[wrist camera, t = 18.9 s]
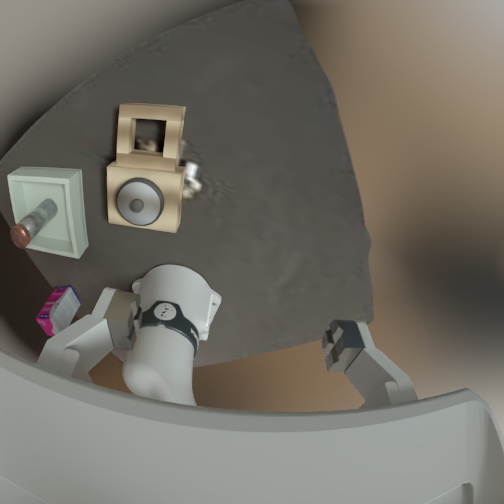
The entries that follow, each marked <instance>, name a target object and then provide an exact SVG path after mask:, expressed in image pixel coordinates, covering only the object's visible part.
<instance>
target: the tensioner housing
mask: <svg viewBox="0 0 504 504" xmlns="http://www.w3.org/2000/svg"><path fill="white" fill-rule="evenodd" d="M185 110H186V107H184V106H173V105H161V104H144V103H124V104H120V108H119V120H118V135H117V158H116V160H115V161H114V162H112V163H111V164H110V165H108V166H107V197H108V217H109V223H113V224H119V225H126V226H133V227H139V228H146V229H153V230H159V231H166V232H173V233H176V231H177V229H178V226H179V224H180V217H181V206H182V195H183V185H184V176H185V168H186V167H179V166H178V163H179V154H180V146H181V138H182V131H183V123H184V117H185ZM136 118H141V119H155V120H167V123H166V132H165V141H164V150H163V152H154V151H144V150H134V142H135V129H136Z"/></svg>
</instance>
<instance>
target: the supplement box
mask: <svg viewBox="0 0 504 504" xmlns="http://www.w3.org/2000/svg"><path fill="white" fill-rule="evenodd" d="M80 305H81V301H80V299H79V298H78V296H77V294H76V293H75V291H74V289H73V287H72V286H66V287H56V288H55V289H54V291H53V292H52V294H51V295H50V297H49V298H48V300H47V301H46V303H45V304H44V306H43V308H42V309H41V311H40V312H39V314H38V316H37V317H36V320H37V321H38V323H39V324H40V326H41V327H42V328H43V330H44V331H45V333H46V334H47V335H48V336H55V335H56V334H58V333H59V332H61V331H62V330H64V329H66V328H67V327H69V325H70V323H71V321H72V319H73V317H74V315H75V314H76V312H77V310H78V308H79V306H80Z"/></svg>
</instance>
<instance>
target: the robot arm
mask: <svg viewBox="0 0 504 504" xmlns="http://www.w3.org/2000/svg"><path fill="white" fill-rule="evenodd" d="M132 289H133V292H134V293H131V292H127V291H122V290H118V289H113V288H109V287H106V288H105V289H104V290H103V292H102V294H101V296H100V298H99V300H98V302H97V304H96V306H95V308H94V310H93V312H92V314H91V315H89V314H88V315H86V316H84V317H83V318H81V319H80V320H78V321H76V322H75V323H74V324H72V325H70V326H69V327H67V328H66V329H64V330H62V331H61V332H59V333H58V334H56V335H55V336H53V337H52V338H50V339H49V340H47V342H46V344H45V346H44V348H43V350H42V353H41V355H40V357H39V359H38V361H37V363H36V364H35V363H33V362H30V361H28V360H26V359H23V358H21V357H19V356H17V355H15V354H12V353H10V352H8V351H6V350H4V349H2V348H0V504H504V436H503V433H502V431H501V428H500V426H499V423H498V421H497V419H496V417H495V414H494V412H493V411H492V409H491V407H490V406H489V404H488V403H487V402H486V401H485V400H483V399H482V398H481V397H480V396H479V395H478V394H476V393H475V392H473V391H472V390H471V389H469V388H464V389H461V390H457V391H454V392H450V393H446V394H442V395H438V396H433V397H429V398H424V399H419V400H418V398H417V395H416V393H415V390H414V387H413V384H412V382H411V379H410V378H409V377H408V376H407V375H406V374H405V373H404V372H403V371H401V370H400V369H399V368H398V367H397V366H396V365H395V364H394V363H393V362H392V361H391V360H390V359H389V358H388V357H387V356H385V355H384V354H383V353H382V352H381V351H380V350H379V349H375V346H374V343H373V341H372V338H371V335H370V333H369V330H368V328H367V325H366V323H365V322H364V321H352V320H335V319H334V320H333V321H332V322H331V324H330V328H331V329H329V330H328V331H326V332H325V334H324V336H323V340H322V349H323V352H324V353H325V354H326V355H327V357H326V359H325V362H326V367H327V371H328V372H344V374H345V375H346V376H347V377H348V379H349V380H350V381H351V383H352V384H353V385H354V386H355V388H356V389H357V390H358V391H359V393H360V394H361V395H362V396H363V397H364V399H365V400H366V402H365V403H364V404H363V405H361V407H359V409H350V410H337V411H321V412H320V411H319V412H259V411H242V410H229V409H218V408H208V407H201V406H197V405H196V403H195V400H194V397H193V393H192V366H193V358H194V357H195V355H196V352H197V349H198V344H199V342H198V341H199V340H205V341H206V340H207V338H208V333H209V326H210V324H211V322H212V319H213V317H214V315H215V313H216V311H217V309H218V307H219V305H220V303H221V296H220V295H219V294H218V293H216V292H215V291H213V290H212V289H211V288H210V287H209V285H208V284H207V282H206V281H205V280H204V279H203V278H202V277H201V276H200V275H199V274H198V273H196V272H195V271H193V270H191V269H189V268H186V267H183V266H179V265H161V266H158V267H155V268H153V269H152V270H150V271H149V272H148V273H147V274H146V275H145V276H144V277H143V278H141V279H138V280H136V281H134V282H133V285H132ZM114 347H116V348H121V349H126V350H128V352H127V356H126V359H125V362H124V366H123V378H124V381H125V383H126V385H127V386H128V388H129V389H130V390H131V392H132V393H134V395H133V394H129V393H124V392H120V391H116V390H113V389H109V388H105V387H102V386H98V385H94V384H93V382H92V380H91V378H90V376H89V374H88V371H89V370H90V369H91V368H92V367H94V366H95V365H96V364H97V363H98V362H99V361H100V360H101V359H103V358H104V357H105V356H106V355H107V354H108V353H109V352H110V351H111V350H112V349H114Z"/></svg>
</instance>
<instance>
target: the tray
mask: <svg viewBox="0 0 504 504" xmlns="http://www.w3.org/2000/svg"><path fill="white" fill-rule="evenodd" d="M7 176H8V184H9V191H10V197H11V202H12V208H13V213H14V218H15V222H16V224H17V223H19V222H20V221H21V220H22V219H23V218H24V217H25V216H26V215H27V214H29V213H30V212H31V211H32V210H33V209H34V208H35V207H37V206H38V205H39V204H40V203H41V202H43V201H44V200H45V199H47V198H50V199H52V200H53V201H54V202H55V203H56V205H57V208H58V212H57V214H56V216H55V217H54V218H53V219H52V220H51V221H50V222H49V223H48V224H47V225H46V226H45V227H44V228H43V229H42V230H41V231H40V232H39V233H38V234H37V235H36V236H35V237H34V238H33V239H32V240H31V241H30V243H29V244H28V245H27V246H26V248H30V249H35V250H39V251H44V252H49V253H53V254H58V255H63V256H68V257H72V258H77V259H79V258H80V257H81V255H82V254H83V253H84V251H85V250H86V248H87V247H88V246H89V245H88V238H87V230H86V222H85V212H84V201H83V187H82V169H67V168H47V167H20V168H18V169H16V170H15V171H13V172H12V173H10V174H9V175H7Z"/></svg>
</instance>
